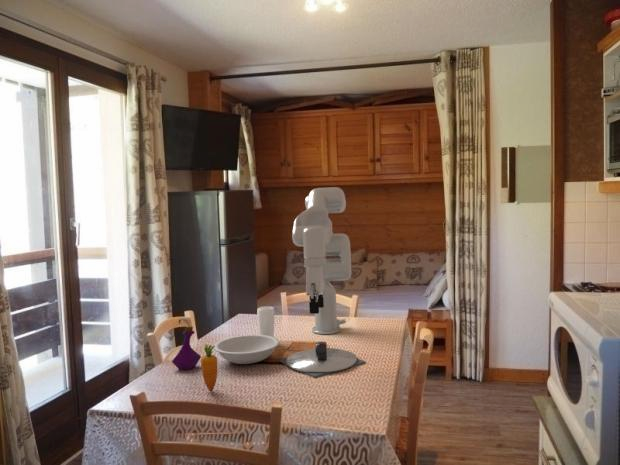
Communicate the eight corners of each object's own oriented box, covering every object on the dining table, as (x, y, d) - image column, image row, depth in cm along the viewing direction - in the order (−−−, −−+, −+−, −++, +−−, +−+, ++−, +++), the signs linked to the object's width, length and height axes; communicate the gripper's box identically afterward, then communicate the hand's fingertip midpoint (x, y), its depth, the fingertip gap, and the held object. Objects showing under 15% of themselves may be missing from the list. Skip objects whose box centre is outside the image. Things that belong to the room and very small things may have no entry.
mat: (327, 349, 197) (327, 347, 197) (365, 363, 179) (365, 361, 179) (279, 361, 184) (278, 360, 184) (314, 377, 166) (314, 376, 166)
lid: (328, 346, 199) (327, 330, 198) (371, 361, 178) (370, 343, 178) (273, 360, 185) (272, 343, 184) (313, 378, 164) (312, 359, 164)
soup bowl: (252, 376, 171) (251, 357, 170) (200, 366, 183) (199, 348, 183) (293, 355, 191) (292, 338, 190) (243, 348, 204) (242, 331, 203)
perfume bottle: (201, 365, 184) (198, 316, 183) (190, 372, 177) (187, 321, 176) (184, 363, 187) (180, 315, 186) (172, 370, 180) (168, 320, 179)
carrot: (203, 389, 161) (201, 342, 160) (219, 388, 161) (217, 341, 160) (201, 395, 156) (198, 346, 155) (218, 394, 156) (215, 345, 155)
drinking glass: (276, 342, 210) (275, 306, 209) (274, 347, 203) (272, 309, 202) (260, 342, 211) (258, 306, 210) (257, 347, 204) (255, 310, 203)
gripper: (309, 259, 189) (311, 305, 190) (299, 265, 172) (301, 315, 173) (329, 259, 187) (331, 305, 188) (321, 265, 170) (323, 315, 171)
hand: (316, 310), depth 181 cm, fingers open, 9 cm apart
